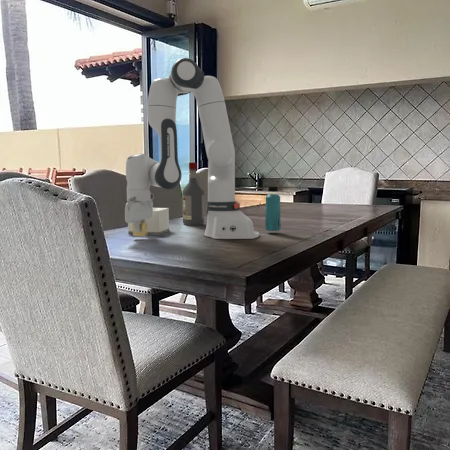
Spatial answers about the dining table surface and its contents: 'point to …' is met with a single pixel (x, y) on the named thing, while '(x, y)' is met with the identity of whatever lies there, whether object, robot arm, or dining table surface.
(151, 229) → the money box
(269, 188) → the beverage bottle
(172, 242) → the dining table surface
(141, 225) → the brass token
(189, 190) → the liquor
